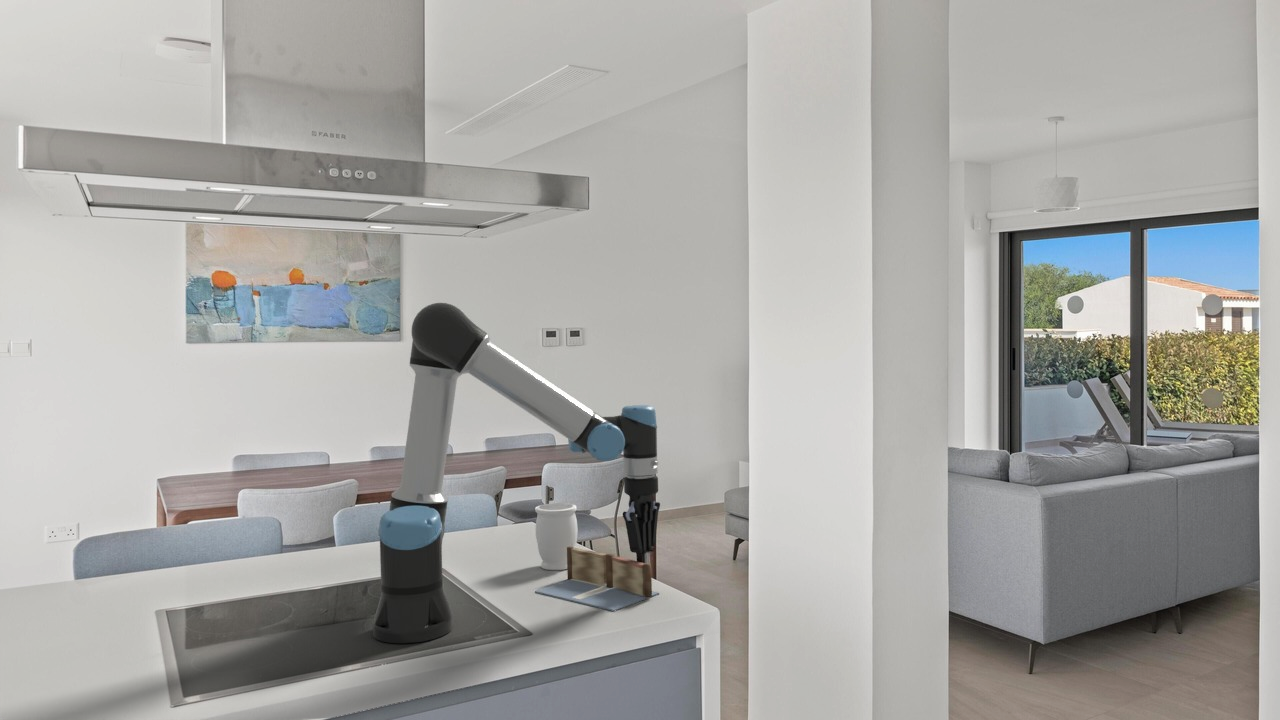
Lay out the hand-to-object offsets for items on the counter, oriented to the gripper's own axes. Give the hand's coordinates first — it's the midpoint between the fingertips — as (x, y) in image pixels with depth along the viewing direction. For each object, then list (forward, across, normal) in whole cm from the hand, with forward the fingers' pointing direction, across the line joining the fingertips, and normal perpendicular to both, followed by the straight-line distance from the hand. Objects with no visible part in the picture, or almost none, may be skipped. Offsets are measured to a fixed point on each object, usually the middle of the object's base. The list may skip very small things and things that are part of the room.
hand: (643, 581), depth 193 cm
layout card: (+2, -6, +9) cm, 11 cm away
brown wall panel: (+2, 0, +14) cm, 15 cm away
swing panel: (+2, -3, +1) cm, 4 cm away
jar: (+3, +10, +30) cm, 32 cm away
